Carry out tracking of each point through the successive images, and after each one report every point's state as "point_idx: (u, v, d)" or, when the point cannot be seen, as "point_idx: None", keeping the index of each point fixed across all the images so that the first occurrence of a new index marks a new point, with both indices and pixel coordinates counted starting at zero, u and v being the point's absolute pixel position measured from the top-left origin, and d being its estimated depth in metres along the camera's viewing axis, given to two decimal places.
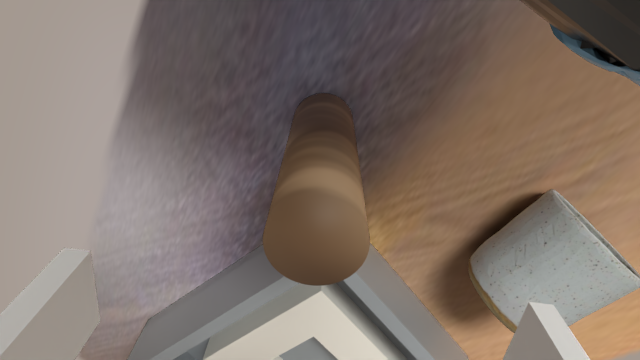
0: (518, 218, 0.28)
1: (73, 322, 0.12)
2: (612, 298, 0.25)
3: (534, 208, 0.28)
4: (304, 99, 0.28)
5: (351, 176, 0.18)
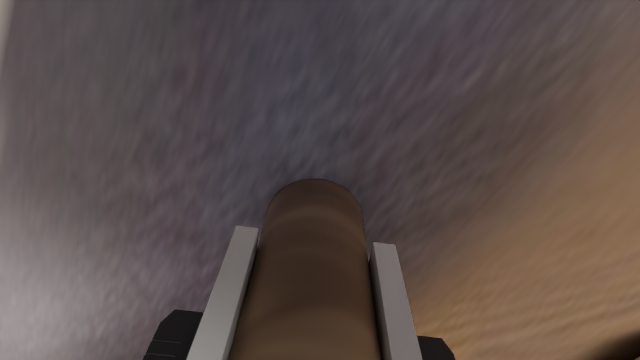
0: None
1: None
2: None
3: None
4: (283, 188, 0.17)
5: None
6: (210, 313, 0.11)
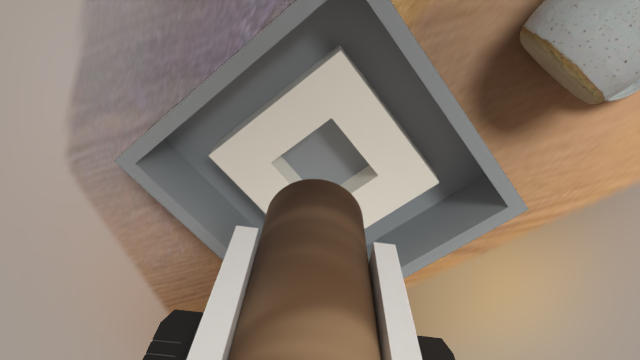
0: None
1: None
2: None
3: None
4: (283, 188, 0.17)
5: None
6: (210, 313, 0.11)
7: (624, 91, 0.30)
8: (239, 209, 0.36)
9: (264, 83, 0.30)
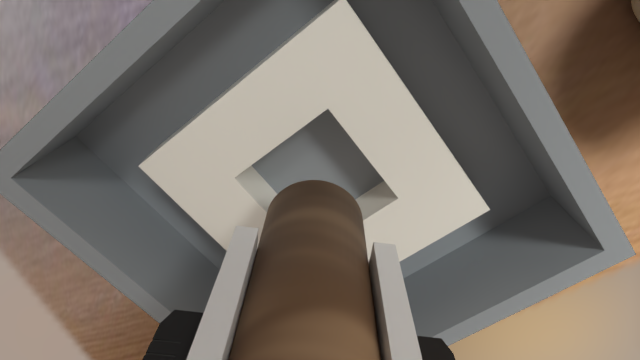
0: None
1: None
2: None
3: None
4: (283, 189, 0.17)
5: None
6: (210, 313, 0.11)
7: None
8: (194, 243, 0.25)
9: (226, 56, 0.20)
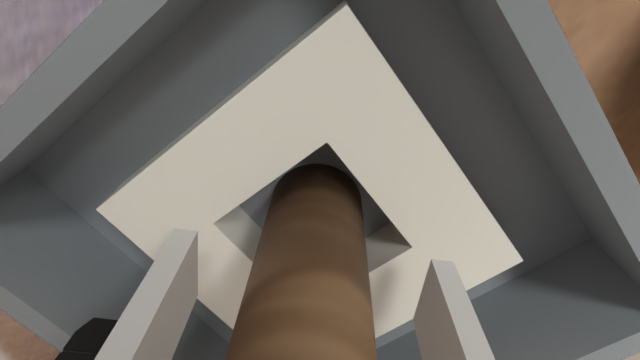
0: None
1: (186, 293, 0.13)
2: None
3: None
4: None
5: None
6: (124, 322, 0.10)
7: None
8: None
9: (203, 76, 0.16)
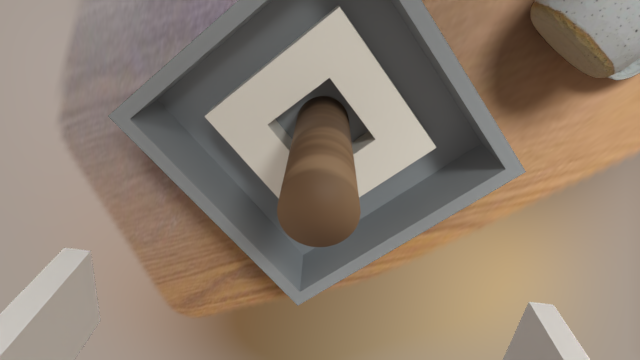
0: None
1: (73, 322, 0.12)
2: None
3: None
4: None
5: (347, 162, 0.22)
6: None
7: (630, 71, 0.30)
8: (234, 178, 0.35)
9: (262, 45, 0.30)
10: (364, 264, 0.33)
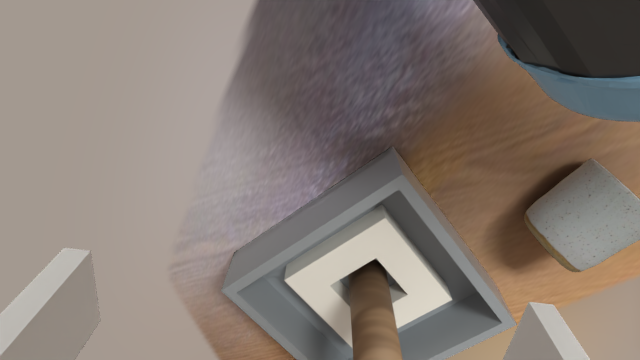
0: (565, 180, 0.38)
1: (73, 322, 0.12)
2: (639, 235, 0.34)
3: (578, 172, 0.37)
4: None
5: (396, 349, 0.34)
6: None
7: None
8: (298, 309, 0.47)
9: None
10: None
